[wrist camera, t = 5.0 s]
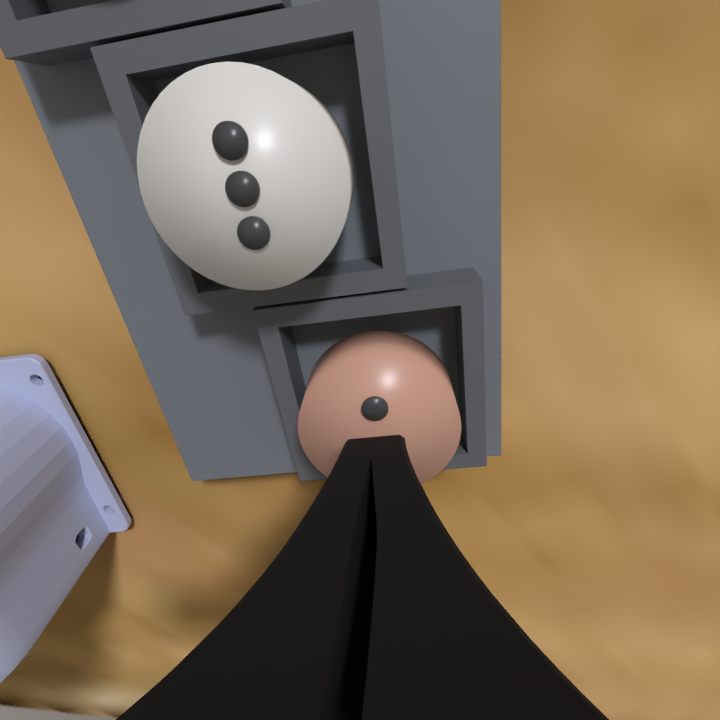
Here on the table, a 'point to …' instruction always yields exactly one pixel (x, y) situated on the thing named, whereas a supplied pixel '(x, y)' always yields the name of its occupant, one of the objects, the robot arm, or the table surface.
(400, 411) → the clay button
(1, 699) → the table surface
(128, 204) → the button panel
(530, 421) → the table surface
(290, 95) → the cream button
